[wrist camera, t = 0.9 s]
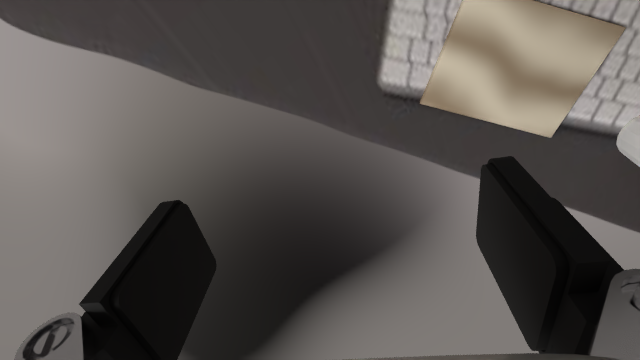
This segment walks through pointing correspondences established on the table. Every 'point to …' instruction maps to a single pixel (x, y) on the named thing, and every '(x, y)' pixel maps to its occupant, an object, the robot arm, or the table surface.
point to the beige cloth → (518, 63)
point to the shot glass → (630, 140)
